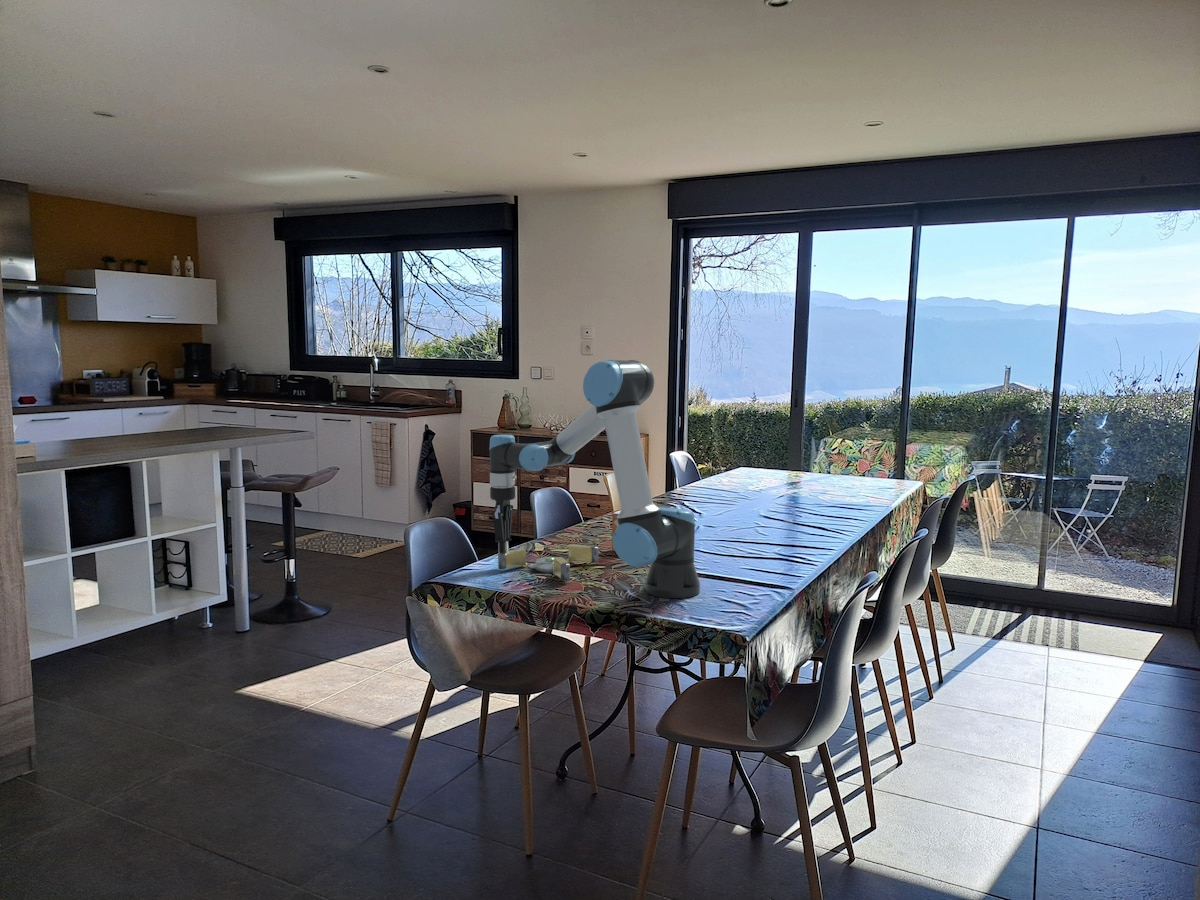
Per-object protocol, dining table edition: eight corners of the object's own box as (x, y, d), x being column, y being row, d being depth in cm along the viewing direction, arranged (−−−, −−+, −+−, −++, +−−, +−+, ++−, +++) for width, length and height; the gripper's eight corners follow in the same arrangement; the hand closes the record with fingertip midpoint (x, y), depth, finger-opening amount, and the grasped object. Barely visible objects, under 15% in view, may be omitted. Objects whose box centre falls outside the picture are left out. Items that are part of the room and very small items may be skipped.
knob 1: (552, 574, 235) (552, 556, 235) (561, 574, 236) (561, 555, 236) (562, 584, 226) (562, 565, 225) (570, 583, 226) (570, 564, 226)
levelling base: (559, 574, 236) (559, 563, 236) (524, 572, 238) (524, 561, 238) (569, 564, 248) (569, 554, 247) (535, 562, 250) (535, 552, 250)
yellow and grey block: (523, 565, 246) (523, 547, 246) (528, 566, 244) (528, 549, 244) (496, 571, 239) (496, 553, 238) (501, 572, 237) (501, 554, 237)
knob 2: (565, 563, 248) (565, 546, 248) (567, 561, 251) (567, 544, 250) (597, 565, 245) (597, 548, 245) (599, 563, 248) (599, 546, 247)
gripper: (507, 490, 233) (508, 568, 236) (521, 483, 245) (521, 557, 248) (483, 489, 234) (484, 567, 237) (497, 482, 247) (498, 556, 250)
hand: (503, 562), depth 243 cm, fingers closed
